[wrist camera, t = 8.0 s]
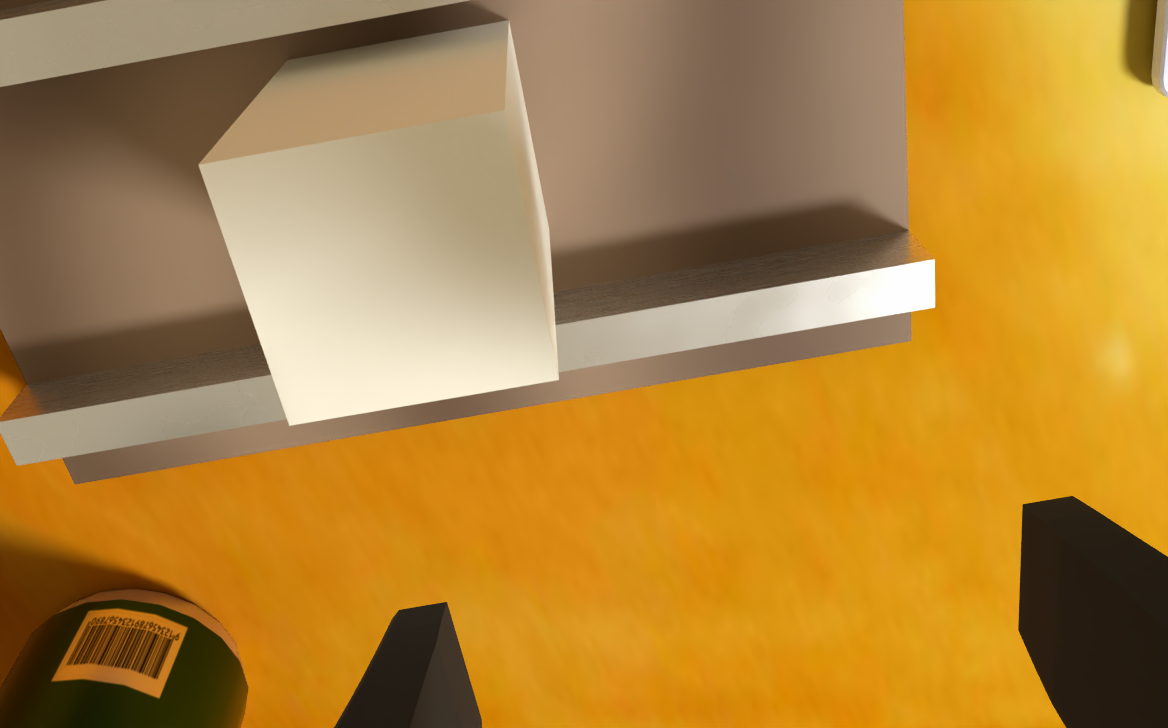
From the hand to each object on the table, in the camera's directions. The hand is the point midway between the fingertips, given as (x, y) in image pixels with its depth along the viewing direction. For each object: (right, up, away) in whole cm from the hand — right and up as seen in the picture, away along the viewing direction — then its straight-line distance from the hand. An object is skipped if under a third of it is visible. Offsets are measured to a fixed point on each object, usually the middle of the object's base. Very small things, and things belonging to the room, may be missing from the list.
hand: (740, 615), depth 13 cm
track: (-5, +7, +8) cm, 12 cm away
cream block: (-5, +7, +7) cm, 11 cm away
